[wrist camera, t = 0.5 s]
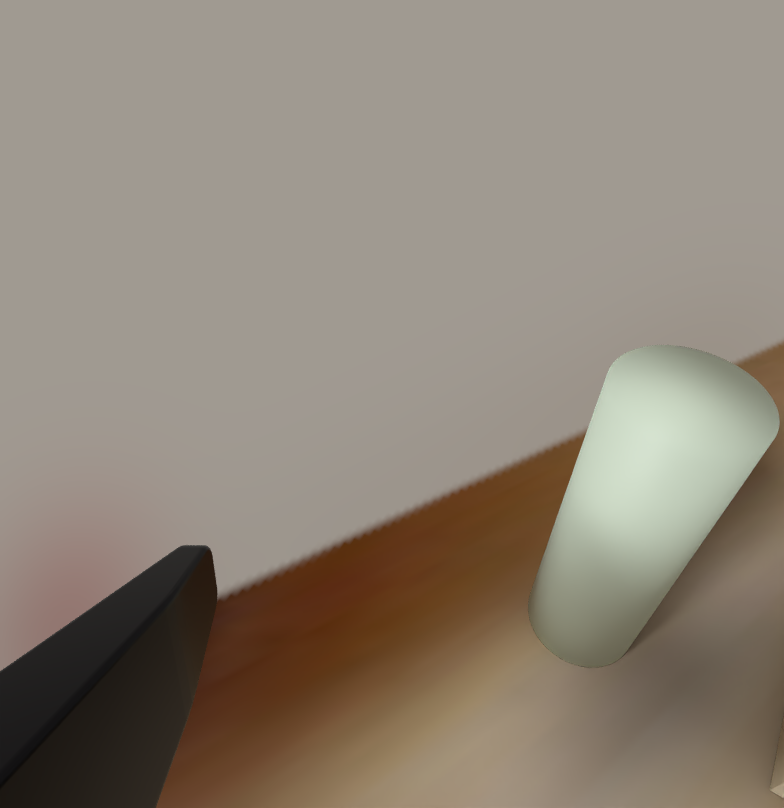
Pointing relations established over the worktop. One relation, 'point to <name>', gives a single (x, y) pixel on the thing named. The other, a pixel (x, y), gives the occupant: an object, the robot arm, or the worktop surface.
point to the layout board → (779, 767)
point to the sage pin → (645, 495)
